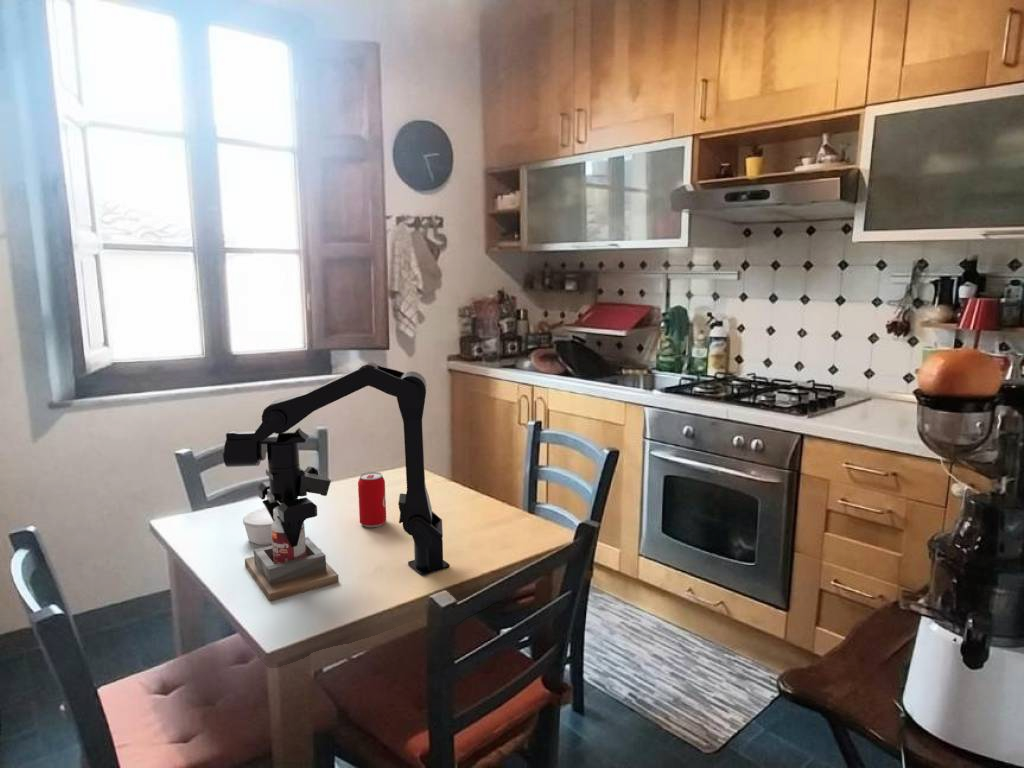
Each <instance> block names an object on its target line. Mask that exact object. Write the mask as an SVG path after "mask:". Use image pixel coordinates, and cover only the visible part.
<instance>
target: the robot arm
mask: <svg viewBox="0 0 1024 768" xmlns="http://www.w3.org/2000/svg"><path fill="white" fill-rule="evenodd" d="M366 387H371V388H374V389H376V390H378V391H380V392H382V393H385V394H387V395H389V396H392V397H396V400H397V401H396V402H397V404H398V408H399V412H400V413H399V414H400V416H401V419H402V422H403V436H404V438H403V439H404V441H403V442H404V457H405V476H406V493H399V498H398V502H397V503H398V509H399V520H398V523H399V524H402V527H403V530H404V532H405V533H406V534H408V535H410V536H411V537H412V539H413V540H412V541H413V545H414V546H413V547H414V550H413V551H414V553H413V554H414V555H413V556H414V559H413V560H410V561H407V564H408V566H409V567H411V568H412V569H413V570H415V571H416V572H417V573H418V574H420V575H421V576H425V575H429V574H432V573H435V572H439V571H442V570H446V569H448V568H450V567H451V564H449V563H448V561H445V560H444V546H443V545H444V542H443V537H444V534H443V533H444V532H443V519H442V518H441V517H439V516H438V515H437V514H436V513H435V512H434V511H433V509H432V504H431V501H430V499H431V498H430V495H429V491H428V489H427V484H426V475H425V473H426V471H425V457H424V456H425V449H424V447H425V446H424V432H423V430H424V428H423V426H424V425H423V417H424V416H423V415H424V409H425V405H426V404H425V402H426V395H427V381H426V379H425V377H424V376H423V375H422V374H421V373H419V372H418V371H407V372H403V371H400V370H397V369H392V368H388V367H385V366H382V365H379V364H377V363H375V362H371V361H370V362H364V363H363V364H362V365H361V366H360V367H357V368H356V369H354V370H353V369H352V370H351V371H349V372H347V373H345V374H342V375H340V376H339V377H338V376H337V378H336V377H335V378H334V379H332V380H330V381H327V382H326V383H323V384H321V385H319V386H317V387H315V388H313V389H311V390H308V391H305V392H301V393H296V394H291V395H287V396H284V397H280V398H277V399H275V400H274V401H273V402H271V403H270V404H269V405H267V407H264V410H263V411H262V414H261V424H260V425H259V426H258V427H257V428H256V429H255V430H254V431H253V430H249V431H247V430H246V431H244V430H243V431H239V430H229V431H228V432H226V434H225V437H226V438H225V442H224V448H223V450H224V451H223V452H222V457H223V462H224V466H225V467H226V468H234V467H258V466H260V464H261V461H265V460H266V457H267V467H268V468H266V469H265V475H266V476H268V481H263V482H260V484H259V486H257V493H258V494H257V495H258V497H259V498H260V499H261V500H263V501H262V504H263V506H264V508H266V509H267V511H268V513H269V514H270V516H271V518H272V520H273V522H274V521H275V520H274V518H273V509H274V508H275V507H277V506H279V507H278V513H279V516H277V519H278V521H279V523H280V525H281V527H282V529H283V531H284V533H285V535H286V537H287V539H288V541H289V543H290V545H291V547H295V546H297V544H298V540H299V536H300V532H301V528H302V525H303V522H304V523H305V521H306V520H307V519H310V518H316V517H317V516H318V506H317V505H316V503H314V502H313V501H312V500H310V499H309V498H308V497H306V496H308V495H307V494H308V493H309V494H317V495H320V496H323V497H326V496H328V492H329V489H330V485H331V482H332V480H331V479H330V478H329V477H327V476H326V475H323V474H321V473H319V469H318V468H316V467H315V466H309V465H308V466H307V467H306V468H305V469H302V468H301V466H300V451H299V450H300V449H299V443H300V444H304V443H306V442H307V440H308V439H309V437H310V435H308V434H307V433H306V432H304V431H303V430H302V429H301V428H300V427H298V428H297V429H296V430H295V431H294V432H287V431H289V430H290V429H292V428H293V427H295V426H296V425H297V424H299V423H300V422H302V421H303V420H304V419H305V418H307V417H309V415H311V414H312V413H314V412H315V411H318V410H319V409H321V408H323V407H326V406H328V405H330V404H332V403H333V402H336V401H338V400H340V399H343V398H344V397H345V398H346V397H347V396H349V395H351V394H353V393H355V392H357V391H360V390H361V389H364V388H366ZM273 434H276V435H277V436H272V435H273ZM270 436H272V437H270ZM299 497H301V498H299Z"/></svg>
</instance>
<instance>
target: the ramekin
mask: <svg viewBox="0 0 1024 768" xmlns="http://www.w3.org/2000/svg"><path fill="white" fill-rule="evenodd" d="M242 523H243V525H244V528H245V532H246V536H247V539H248V540H249V541H250V542H251V543H252V544H254V543H255V545H259V546H271V545H272V530H271V526H272V523H273V520H272V518H271V516H270V514H269V513H268V511H267V509H266V507H264V508H260V509H256V510H253V511H251V512H248V513H247V514H246V515H245V516H243V518H242ZM270 544H271V545H270Z"/></svg>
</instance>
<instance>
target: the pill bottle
mask: <svg viewBox="0 0 1024 768" xmlns="http://www.w3.org/2000/svg"><path fill="white" fill-rule="evenodd" d="M278 507H279V506H277V507H275V508H274V509H273V518H274V520H275V521H274V522H273V523H272V526H271V530H272V544H271V546H273V560H274V564H279V563H283V562H287V561H291V560H295V559H299V558H303V557H306V545H305V538H306V530H305V528H306V527H305V521H304V522H303V525H302V528H301V532H300V536H299V540H298V544H297V546H295V547H291V545H290V543H289V541H288V539H287V537H286V535H285V533H284V531H283V529H282V527H281V525H280V523H279V521H278V519H277V516H279V513H278Z"/></svg>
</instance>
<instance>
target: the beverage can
mask: <svg viewBox="0 0 1024 768" xmlns="http://www.w3.org/2000/svg"><path fill="white" fill-rule="evenodd" d="M357 487H358V488H357V490H358V512H359V513H358V514H359V515H358V516H359V523H360V525H362V526H364V528H378V527H380V526H382V525H384V524H385V523H386V521H387V506H386V505H387V503H386V502H387V501H386V498H387V497H386V480H385V478H384V477H383V474H382V473H381V472H376V471H371V472H364V473H362V474H360V475H359V479H358V481H357Z"/></svg>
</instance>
